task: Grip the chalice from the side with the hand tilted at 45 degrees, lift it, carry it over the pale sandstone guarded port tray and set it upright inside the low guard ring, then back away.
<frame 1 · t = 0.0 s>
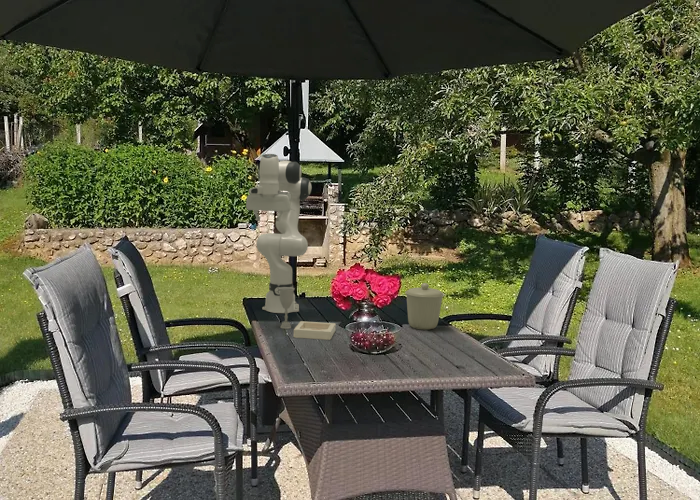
hand: (268, 220, 311), 48 cm above the table, tool pointing down, fingers open, 8 cm apart
chalice: (285, 327, 313), on the table
port tray: (314, 334, 302), on the table
canister: (422, 327, 322), on the table
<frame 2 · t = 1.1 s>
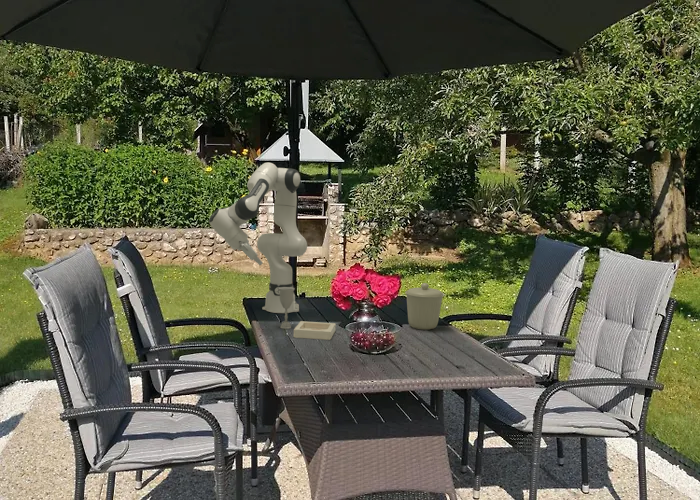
hand: (260, 262, 306), 30 cm above the table, tool tilted 45°, fingers open, 8 cm apart
nothing on the table moved.
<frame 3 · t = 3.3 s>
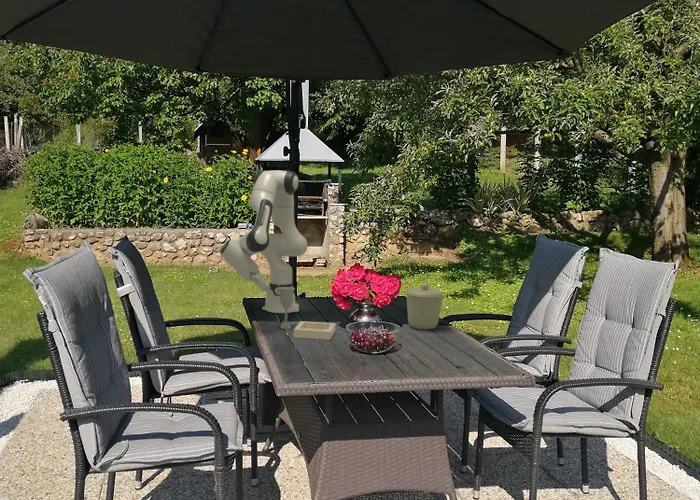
hand: (271, 292, 309), 16 cm above the table, tool tilted 45°, fingers open, 8 cm apart
nothing on the table moved.
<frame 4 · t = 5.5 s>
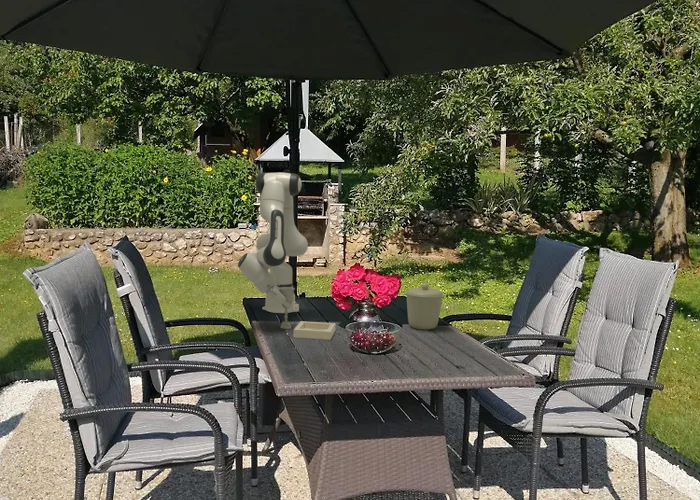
hand: (287, 304, 312), 10 cm above the table, tool tilted 45°, fingers closed on chalice, 6 cm apart
chalice: (285, 327, 313), on the table, touching gripper
everything else where it was.
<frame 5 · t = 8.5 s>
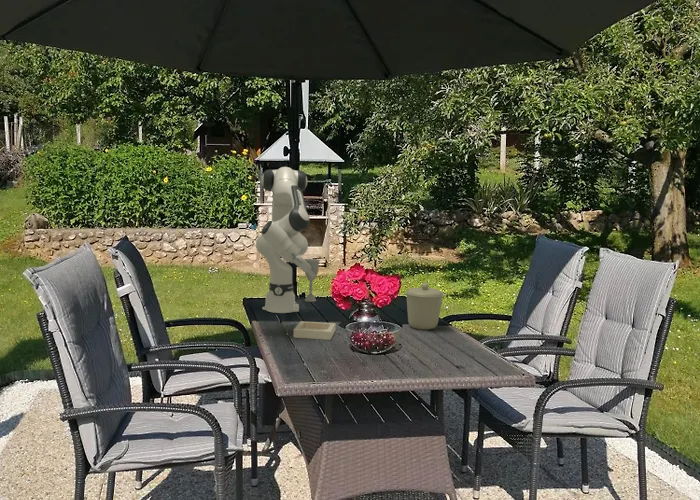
hand: (312, 275, 300), 26 cm above the table, tool tilted 45°, fingers closed on chalice, 6 cm apart
chalice: (310, 300, 301), point 15 cm above the table, touching gripper
everything else where it was.
when the fingers open (13 cm above the table, at t = 11.7 s): chalice stays where it is, resting on port tray.
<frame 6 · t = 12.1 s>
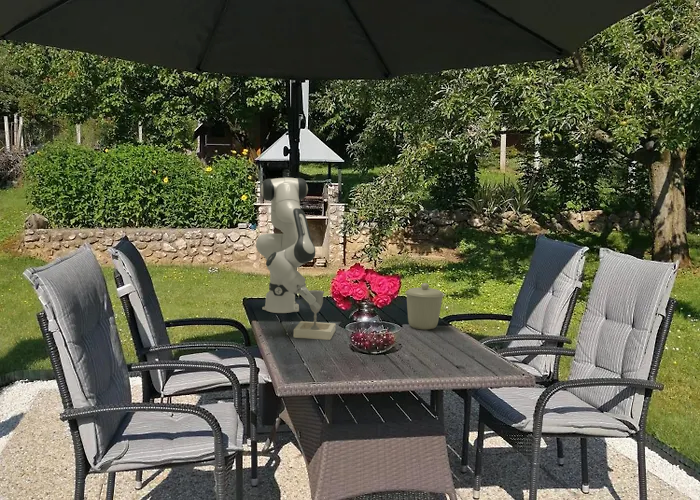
hand: (317, 305, 301), 13 cm above the table, tool tilted 45°, fingers open, 8 cm apart
chalice: (314, 332, 302), point 1 cm above the table, touching port tray
everything else where it was.
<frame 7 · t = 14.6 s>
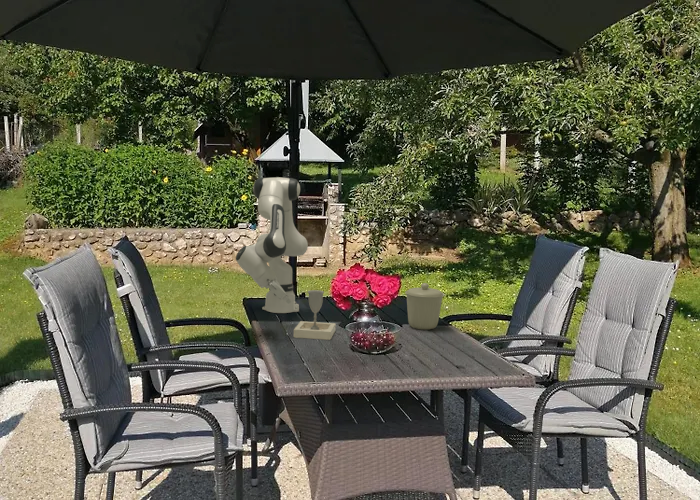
hand: (288, 300, 297), 15 cm above the table, tool tilted 45°, fingers open, 8 cm apart
nothing on the table moved.
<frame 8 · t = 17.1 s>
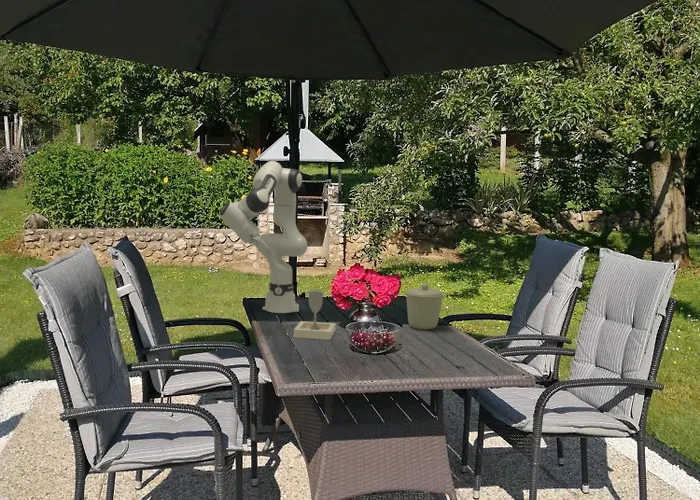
hand: (271, 256, 301), 33 cm above the table, tool tilted 45°, fingers open, 8 cm apart
nothing on the table moved.
at the end: chalice inside the target area on the port tray (0.1 cm from its centre), point 0.8 cm above the port tray's base; chalice tilted 0°; the gripper is holding nothing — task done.
